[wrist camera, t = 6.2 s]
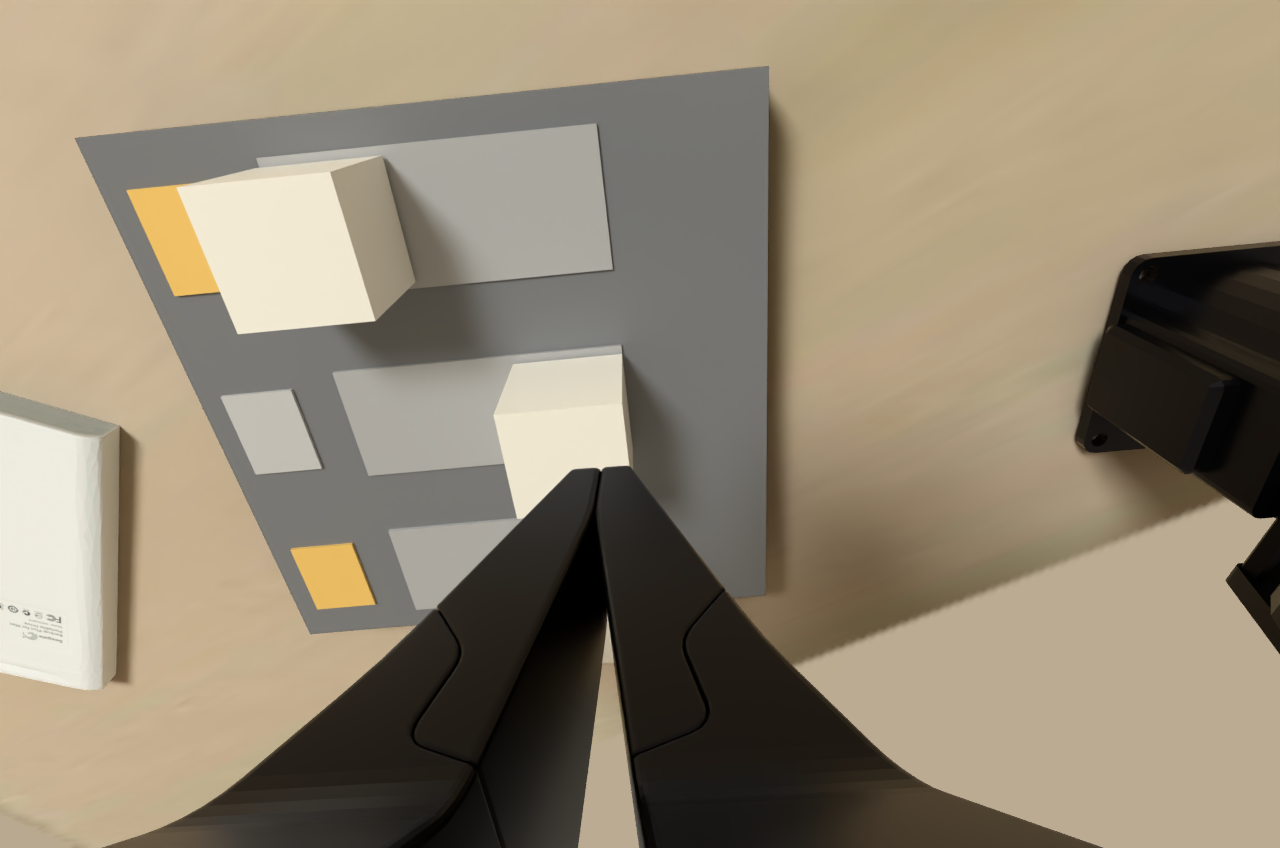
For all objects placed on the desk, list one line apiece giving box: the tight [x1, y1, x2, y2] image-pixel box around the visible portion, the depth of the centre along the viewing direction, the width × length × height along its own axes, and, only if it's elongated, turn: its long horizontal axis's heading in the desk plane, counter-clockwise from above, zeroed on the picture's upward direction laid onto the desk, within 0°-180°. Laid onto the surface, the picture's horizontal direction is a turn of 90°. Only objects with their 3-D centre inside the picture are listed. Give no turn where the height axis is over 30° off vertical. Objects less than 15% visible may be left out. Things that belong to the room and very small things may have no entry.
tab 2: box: [493, 354, 633, 519], centre depth 17 cm, size 3×3×3 cm
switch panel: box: [75, 66, 769, 634], centre depth 19 cm, size 16×16×2 cm
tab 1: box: [176, 155, 416, 334], centre depth 14 cm, size 3×3×3 cm
